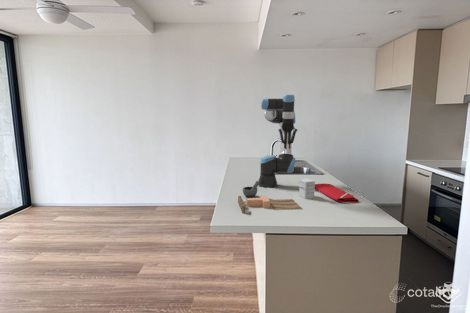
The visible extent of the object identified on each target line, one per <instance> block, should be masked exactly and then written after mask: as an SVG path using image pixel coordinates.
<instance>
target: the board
mask: <svg viewBox="0 0 470 313" xmlns="http://www.w3.org/2000/svg"><path fill="white" fill-rule="evenodd" d="M237 198H238V199H237V204H238V206H239V209H240V210H241V212H242V214H251V213H252V211H251V209H250V207H247V205H246V200H243V198H242V196H241V195H238V196H237ZM269 200H270V207H272V209H273V210H274V211H286V210H287V211H289V210H291V211H292V210H303V207H302V206H300V205H299V204H298V203H297V202H296V201H295V200H294V199H293V198H287V199H285V198H283V199H281V198H280V199H278V198H277V199H269Z"/></svg>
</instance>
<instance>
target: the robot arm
mask: <svg viewBox="0 0 470 313" xmlns="http://www.w3.org/2000/svg"><path fill="white" fill-rule="evenodd" d="M295 101H296V100H295V94H284V95H283V96H282V98H262V99H261V103H260V104H261V107H260V108H261V110H264V113H263V114H264V118H265V120H267V122H269V123H272V124H278V125H279V127H280V128H278V129H277V131H278V132H279V137H280V152H279V153H280V154H278V157H276V156H277V155H271V154H270V155H264V156H262V157H260V162H259V163H260V167H259V168H260V169H259V170H260V173H259V174H260V175H259V178H258V180H257V181H258V182H259V184H258V186H259V187H261V188H274V187H275V188H276V187H277V186H278V181H277V177H276V173H281V174H282V173H284V174H291V173H293V172H294V170H295V164H296V158H295V157H294V155H293V153H292V152H293V151H292V148H293V147H292V144H293V143H294V140H295V138H296V133H297V132H298V129H297V128H295V123H296V113H295Z"/></svg>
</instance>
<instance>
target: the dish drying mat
mask: <svg viewBox="0 0 470 313" xmlns="http://www.w3.org/2000/svg"><path fill="white" fill-rule="evenodd" d="M315 190H316V191H317V192H320V193H321V194H323V195H325V196H326V197H328V198H330V199H332V200H334V201H336V202H337V203H341V202H352V203H359V202H360V201H359V199H358V198H357V197H355V196H354V195H353V194H350V193H348V192H347V191H344V189H341V188H339V187H337V186H335V185H334V184H331V183H315Z"/></svg>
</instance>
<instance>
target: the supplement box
mask: <svg viewBox="0 0 470 313" xmlns="http://www.w3.org/2000/svg"><path fill="white" fill-rule="evenodd" d="M315 184H316V181H315V180H314V179H313V180H312V179H310V178H303V179H299V189H298V190H299V191H298V192H299V193H298V196H299V197H300V198H303V199H305V200H308V199H314V198H315V190H316V189H315Z"/></svg>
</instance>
